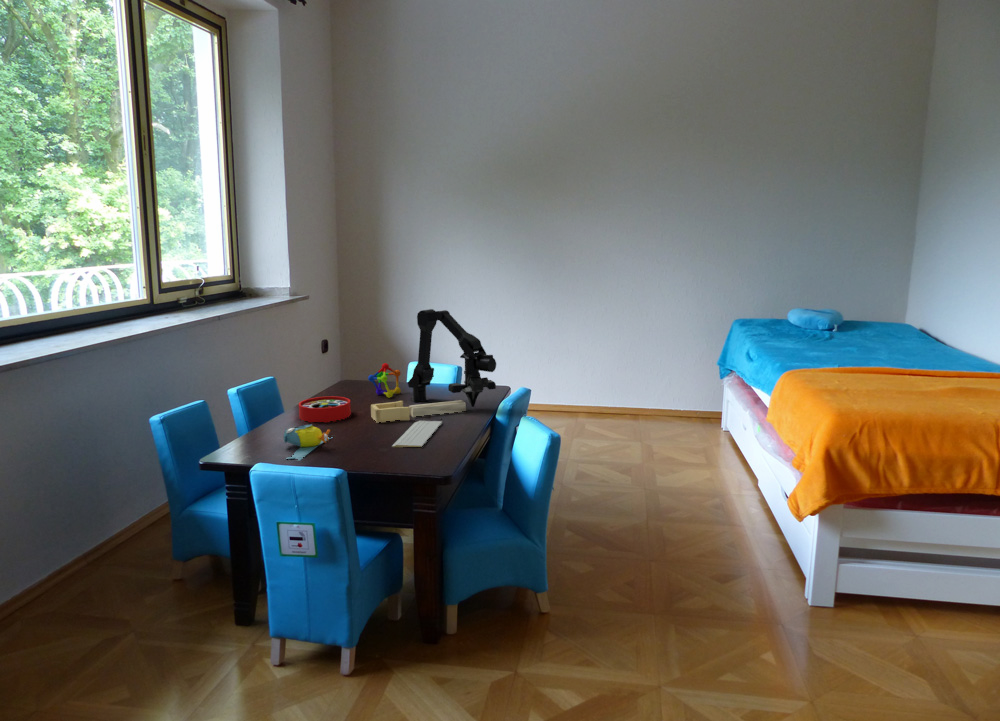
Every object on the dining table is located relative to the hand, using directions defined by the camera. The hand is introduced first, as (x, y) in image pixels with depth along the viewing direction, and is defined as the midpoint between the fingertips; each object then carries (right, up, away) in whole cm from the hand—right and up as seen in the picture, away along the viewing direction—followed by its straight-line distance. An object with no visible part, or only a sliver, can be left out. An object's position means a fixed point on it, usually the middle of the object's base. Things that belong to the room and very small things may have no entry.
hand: (472, 406), depth 291 cm
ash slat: (-14, -3, -5) cm, 15 cm away
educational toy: (-40, +3, +26) cm, 48 cm away
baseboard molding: (-19, -9, -35) cm, 40 cm away
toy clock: (-58, -4, -8) cm, 59 cm away
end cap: (-32, -4, -12) cm, 34 cm away
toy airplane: (-55, -11, -48) cm, 74 cm away
